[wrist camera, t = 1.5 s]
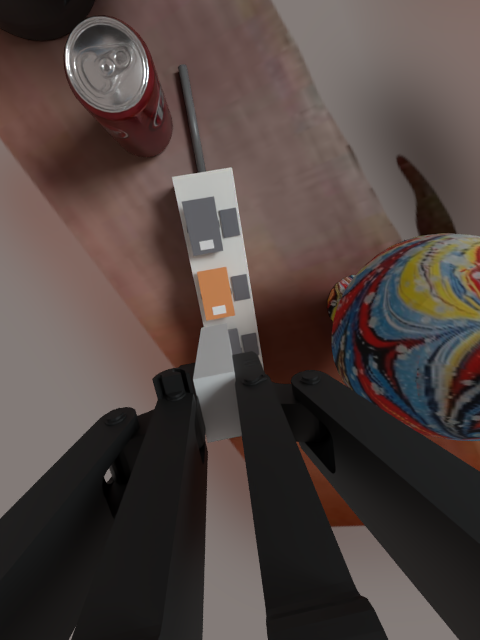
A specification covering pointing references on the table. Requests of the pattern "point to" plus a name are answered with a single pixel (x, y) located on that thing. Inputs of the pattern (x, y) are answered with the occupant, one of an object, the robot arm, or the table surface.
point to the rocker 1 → (203, 225)
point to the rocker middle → (216, 293)
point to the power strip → (230, 230)
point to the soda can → (118, 84)
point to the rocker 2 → (234, 341)
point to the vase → (415, 333)
